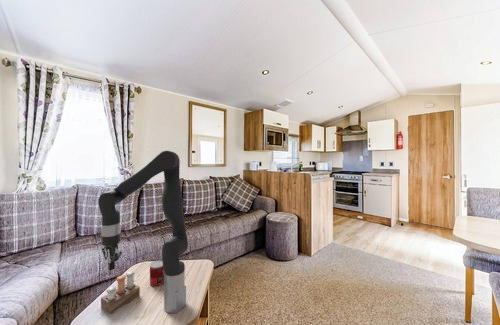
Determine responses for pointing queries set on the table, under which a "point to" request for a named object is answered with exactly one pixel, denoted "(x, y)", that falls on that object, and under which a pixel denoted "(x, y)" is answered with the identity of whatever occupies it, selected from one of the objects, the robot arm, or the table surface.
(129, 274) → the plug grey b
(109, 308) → the walnut block
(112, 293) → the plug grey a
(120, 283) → the plug terracotta
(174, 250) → the robot arm
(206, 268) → the table surface
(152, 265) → the canned food
